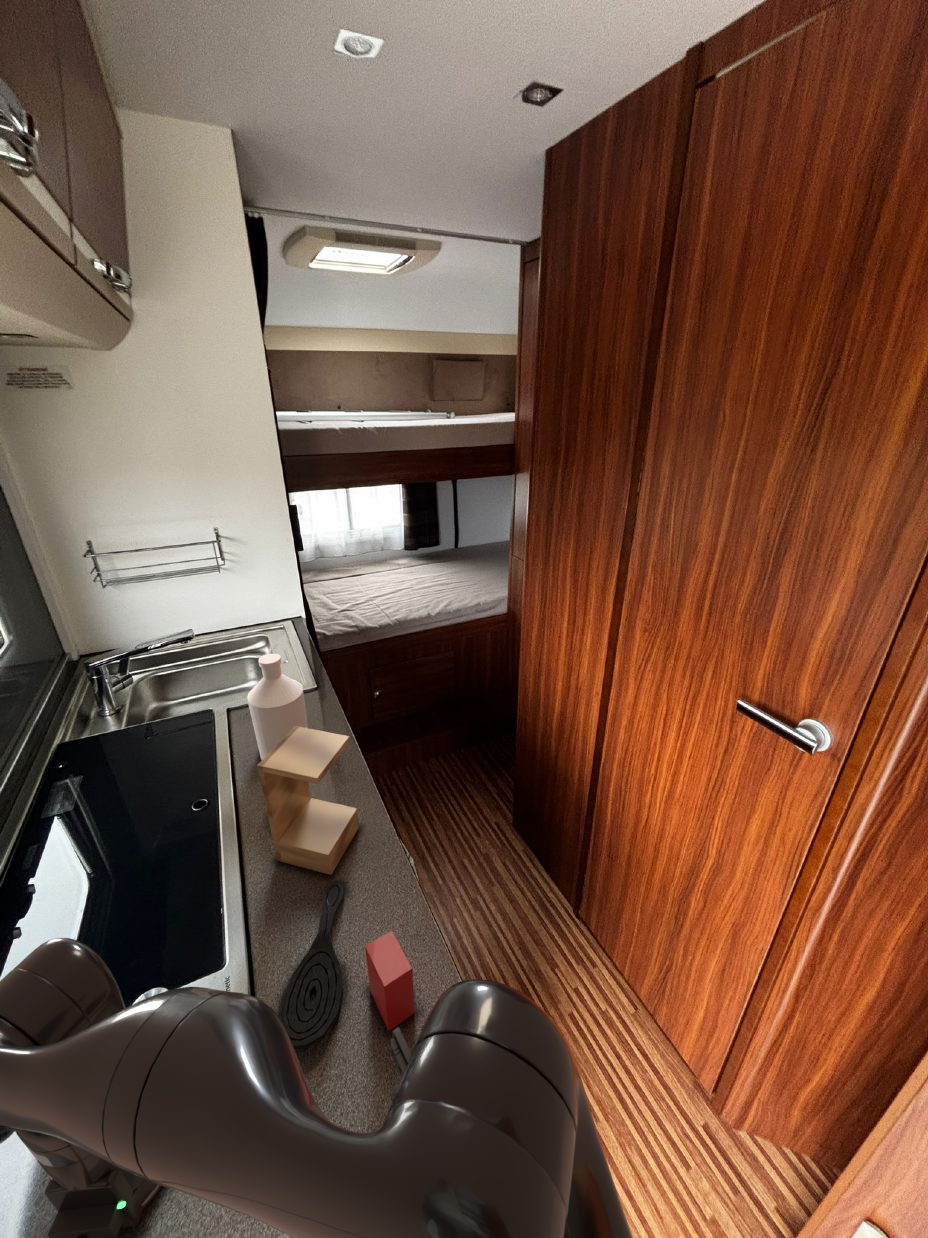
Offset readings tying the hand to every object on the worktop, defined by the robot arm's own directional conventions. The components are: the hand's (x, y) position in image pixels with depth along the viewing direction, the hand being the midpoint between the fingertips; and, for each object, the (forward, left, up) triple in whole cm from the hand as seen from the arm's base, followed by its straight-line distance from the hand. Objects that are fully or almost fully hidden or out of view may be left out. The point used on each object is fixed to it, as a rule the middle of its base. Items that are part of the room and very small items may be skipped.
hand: (430, 1007), depth 54 cm
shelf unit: (+38, +20, -17) cm, 46 cm away
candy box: (+10, +5, -17) cm, 20 cm away
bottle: (+66, +33, -17) cm, 76 cm away
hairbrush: (+16, +16, -17) cm, 29 cm away
